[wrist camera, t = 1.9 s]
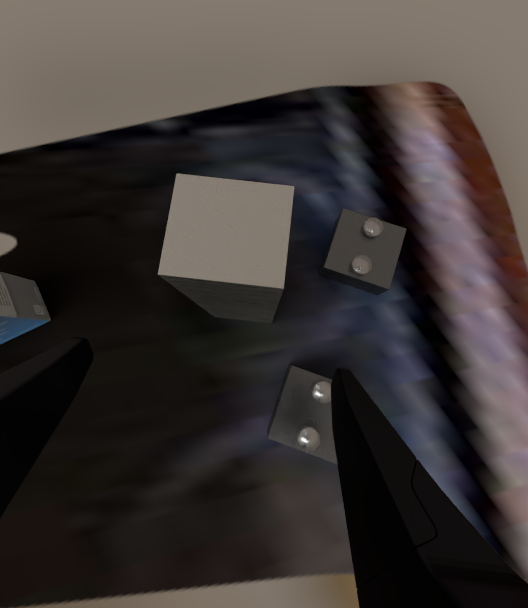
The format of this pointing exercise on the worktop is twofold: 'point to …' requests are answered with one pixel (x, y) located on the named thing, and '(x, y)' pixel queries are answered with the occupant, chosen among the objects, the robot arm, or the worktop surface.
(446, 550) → the robot arm
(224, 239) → the pale grey rectangular block
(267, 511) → the worktop surface
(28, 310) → the label tape box
